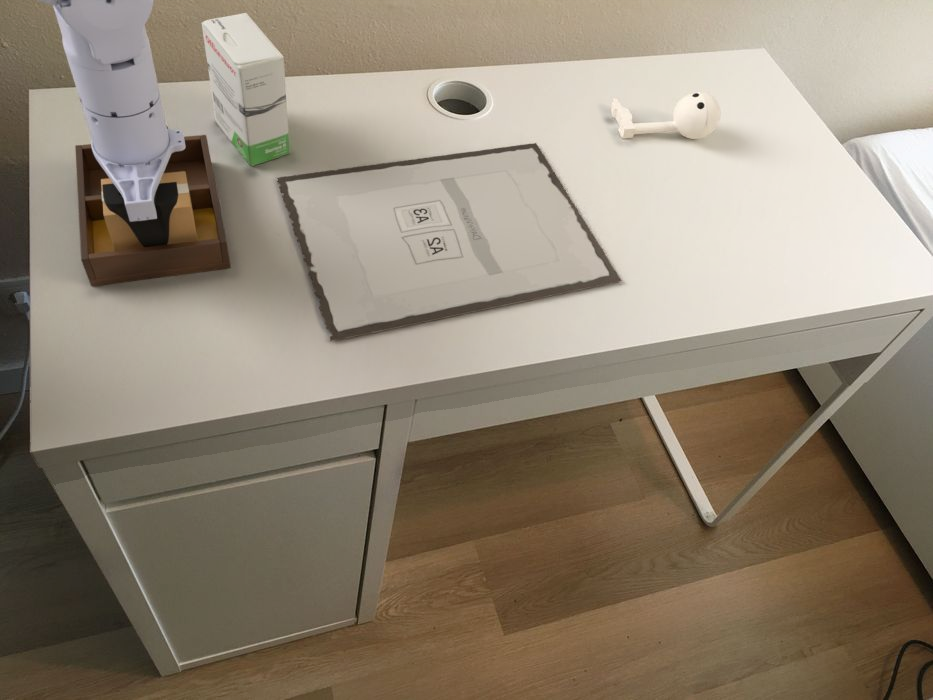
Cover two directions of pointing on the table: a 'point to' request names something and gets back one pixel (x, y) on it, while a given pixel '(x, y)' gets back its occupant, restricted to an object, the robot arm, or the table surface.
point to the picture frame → (439, 237)
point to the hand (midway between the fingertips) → (152, 222)
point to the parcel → (179, 221)
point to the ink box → (247, 87)
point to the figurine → (675, 118)
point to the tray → (153, 260)
